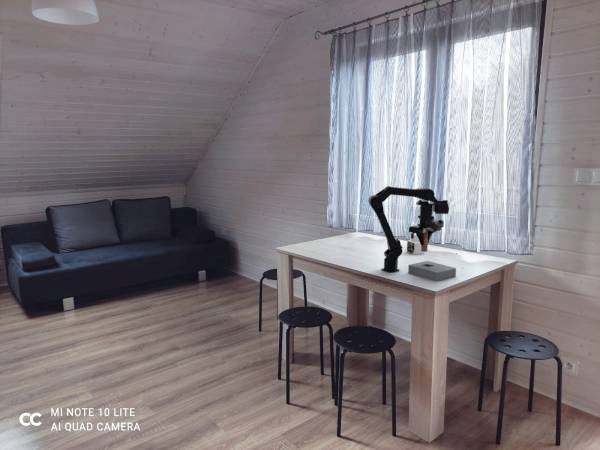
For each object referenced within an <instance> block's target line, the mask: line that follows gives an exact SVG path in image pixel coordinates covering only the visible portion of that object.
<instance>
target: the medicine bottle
mask: <svg viewBox="0 0 600 450" xmlns="http://www.w3.org/2000/svg"><path fill="white" fill-rule="evenodd" d="M406 252H407V253H409V254H410V255H413V256H415V255H424V254H425V252H422V251H421V244H420V241H419V239H418V237H417V235H416V233H412V232H410V239H408V240H407V242H406Z"/></svg>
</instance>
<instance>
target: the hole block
mask: <svg viewBox="0 0 600 450" xmlns="http://www.w3.org/2000/svg"><path fill="white" fill-rule="evenodd" d="M407 272H408V274H411V275H414V276H418V277H422V278H424V279H429V280H431V281H434V282H438V281H439V282H440V281H442V280H447V279H450V278H455V277H456V275H457V267H453V266H449V265H446V264H441V263H437V262H433V261H429V260H425V261H419V262H416V263H411V264H408V271H407Z"/></svg>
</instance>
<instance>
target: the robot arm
mask: <svg viewBox="0 0 600 450" xmlns="http://www.w3.org/2000/svg"><path fill="white" fill-rule="evenodd" d="M391 195H392V196H401V197H402V196H403V197H412V198H417V199H418V201H417V202H416V203H415V204H416V205H418V206H420V208H419V209H420V211H419V215H418V216H417V218H418V219H419V223H417V225H411V226H409V227H408V232H409V233H416V235H417V237H418V239H419V241H420V244H421V246H423V245H424V239H425V235H426V234H427V233H426V232H425V231H428V244H429V242H430V240H431V237H432V235H433V234H435V233H436V232H437V231H441V230H442V228H444V227H445V226H444V224H445V223H444V220H443V219H439V220H436V219H435V216H433V213H434V214H435V215H448V214H449V212H450V206H449V201H448V199H441V200H440V199H437V197H436V196H435V191H434V190H433V189H431V188H428V187H420V188H407V187H396V186H389V185H388V186H387V185H386V187H384V188H383V189H381V190H380V191H378V192H377V193H375V194H373V195H370V197H369V198H368V204H369V206H370V207H371V209H372V211H374V213H375V215H376V217H377V219H378V223H379V224H380V227H381V229H382V232H383V233H384V236H385V239H386V245H387V249H386V250H385V251H384V252H383V255H384V258H383V259H384V262H383V263H384V264H383V268H381V271H384V272H387V273H395V272H399V271H400V269H398V266H399V265H398V264H399V263H398V262H399V261H398V260H399V257H400V256H401V255H402V254H403V248H404V247H403V246H402V243H401V240H400V239H399V238H395V236H394V233H393V231H392V228H391V226H390V224H389V221H388V219H387V216H386V214H385V209H384V205H383V204H384V202H385V201H387V199H388V198H389V197H390V196H391Z"/></svg>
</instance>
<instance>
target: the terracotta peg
mask: <svg viewBox="0 0 600 450" xmlns="http://www.w3.org/2000/svg"><path fill="white" fill-rule="evenodd" d="M425 232H426V233H427V234H426V235H425V239H424V245H423V246H421V251H422V252H424V253H426V252H428V246H429V243H428V231H425Z"/></svg>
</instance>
